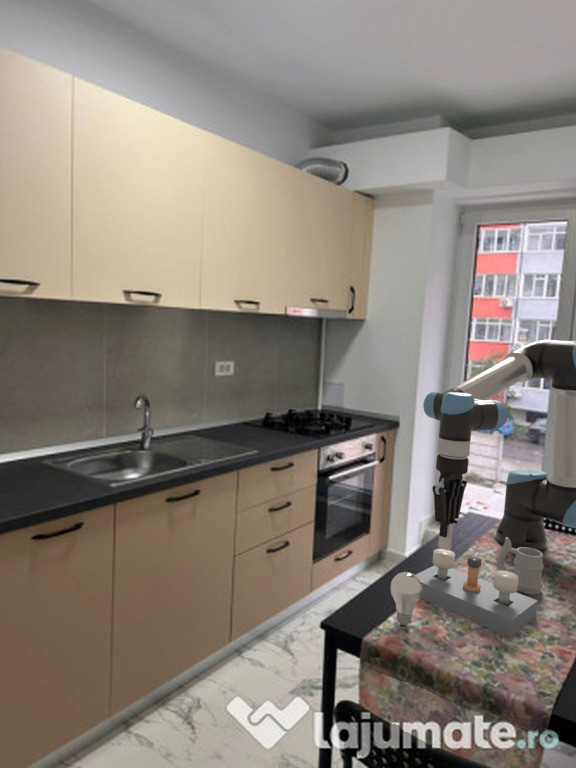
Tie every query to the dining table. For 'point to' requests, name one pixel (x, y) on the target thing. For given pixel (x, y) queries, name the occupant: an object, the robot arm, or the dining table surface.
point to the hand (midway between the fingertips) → (444, 547)
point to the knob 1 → (443, 562)
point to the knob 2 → (505, 585)
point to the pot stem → (472, 575)
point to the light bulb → (405, 595)
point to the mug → (523, 567)
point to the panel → (477, 601)
